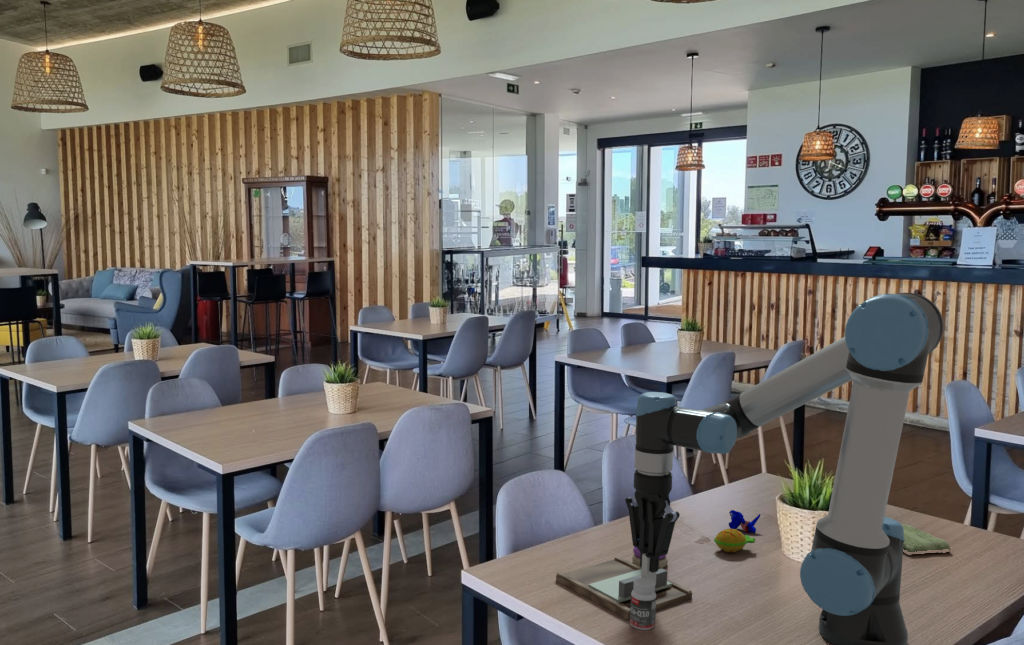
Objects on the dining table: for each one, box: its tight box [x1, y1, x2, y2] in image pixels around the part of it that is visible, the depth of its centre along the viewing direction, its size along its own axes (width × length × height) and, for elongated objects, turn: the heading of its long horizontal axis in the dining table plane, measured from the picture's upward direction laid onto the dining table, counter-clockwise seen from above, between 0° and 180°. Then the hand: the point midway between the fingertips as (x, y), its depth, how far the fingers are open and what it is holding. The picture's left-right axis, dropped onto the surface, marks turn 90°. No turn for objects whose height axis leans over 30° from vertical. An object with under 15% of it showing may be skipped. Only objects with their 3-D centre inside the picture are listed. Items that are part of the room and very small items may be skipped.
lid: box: [588, 568, 672, 603], centre depth 168 cm, size 9×15×4 cm, turn 126°
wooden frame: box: [555, 555, 693, 621], centre depth 170 cm, size 22×18×2 cm
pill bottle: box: [629, 578, 657, 631], centre depth 154 cm, size 5×5×8 cm
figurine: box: [728, 509, 761, 534], centre depth 209 cm, size 5×8×5 cm, turn 63°
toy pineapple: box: [713, 528, 756, 553], centre depth 194 cm, size 7×10×5 cm
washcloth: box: [901, 523, 951, 552], centre depth 202 cm, size 13×18×3 cm
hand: (648, 585), depth 164 cm, fingers closed
